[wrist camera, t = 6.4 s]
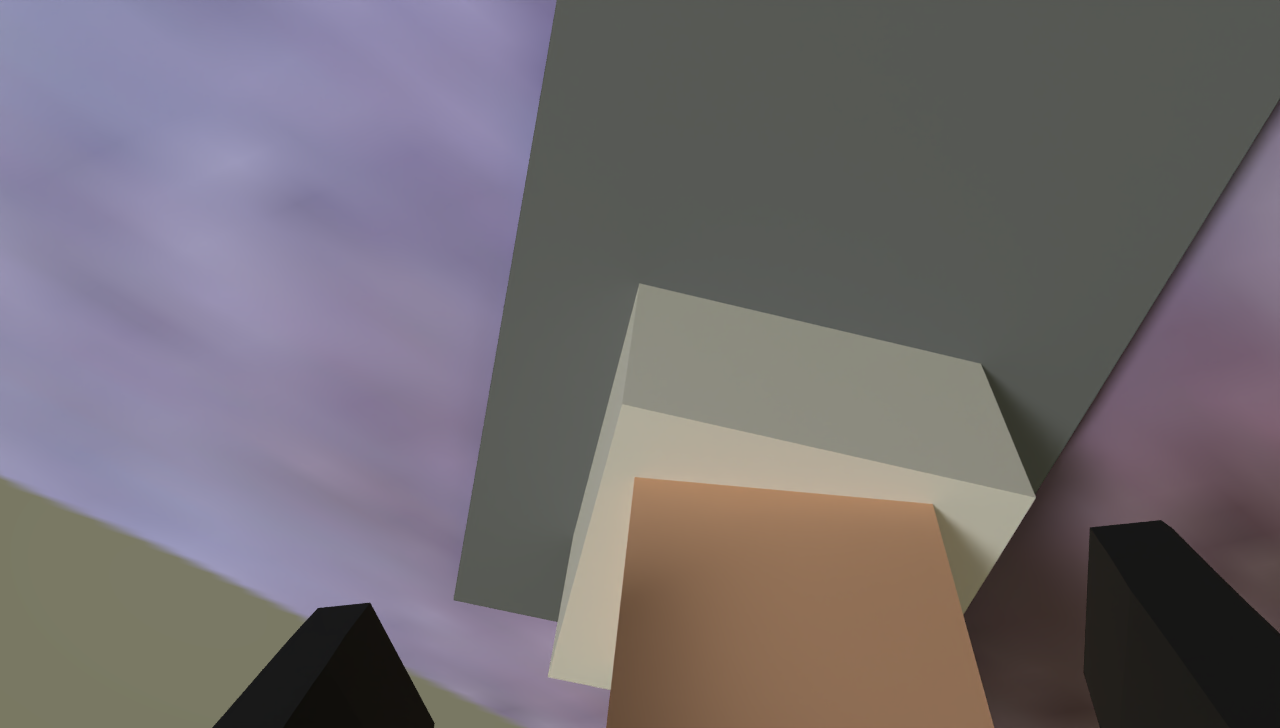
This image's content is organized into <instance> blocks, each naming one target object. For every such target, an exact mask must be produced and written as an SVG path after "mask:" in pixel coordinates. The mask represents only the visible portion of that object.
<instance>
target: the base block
mask: <svg viewBox="0 0 1280 728" xmlns="http://www.w3.org/2000/svg"><path fill="white" fill-rule="evenodd" d="M635 477H640V478H651V479H662V480H673V481H684V482H695V483H706V484H717V485H728V486H739V487H750V488H762V489H773V490H784V491H795V492H806V493H817V494H828V495H839V496H850V497H861V498H872V499H883V500H894V501H905V502H916V503H927V504H933V507H934V510H935V514H936V518H937V521H938V525H939V529H940V532H941V536H942V540H943V543H944V547H945V551H946V554H947V558H948V561H949V565H950V569H951V572H952V576H953V580H954V583H955V587H956V591H957V594H958V598H959V602H960V605H961V609H962V612H963V614H964V613H965V611H966V610H967V608H968V606H969V605H970V603H971V602H972V600H973V598H974V597H975V595H976V593H977V592H978V590H979V589H980V587H981V585H982V584H983V582H984V581H985V579H986V577H987V576H988V574H989V573H990V571H991V569H992V568H993V566H994V565H995V563H996V561H997V560H998V558H999V556H1000V555H1001V553H1002V552H1003V550H1004V548H1005V547H1006V545H1007V544H1008V542H1009V540H1010V539H1011V537H1012V536H1013V534H1014V532H1015V531H1016V529H1017V528H1018V526H1019V524H1020V523H1021V521H1022V519H1023V518H1024V516H1025V515H1026V513H1027V511H1028V510H1029V508H1030V507H1031V505H1032V503H1033V502H1034V500H1035V499H1036V497H1035V494H1034V492H1033V489H1032V487H1031V484H1030V482H1029V480H1028V477H1027V475H1026V472H1025V470H1024V467H1023V465H1022V462H1021V460H1020V458H1019V455H1018V453H1017V450H1016V448H1015V445H1014V443H1013V441H1012V438H1011V436H1010V433H1009V431H1008V428H1007V426H1006V424H1005V421H1004V419H1003V416H1002V414H1001V411H1000V409H999V406H998V404H997V402H996V399H995V397H994V394H993V392H992V389H991V387H990V385H989V382H988V380H987V377H986V375H985V372H984V370H983V368H982V365H981V364H980V363H976V362H972V361H967V360H963V359H959V358H955V357H950V356H946V355H942V354H938V353H933V352H929V351H925V350H921V349H916V348H912V347H908V346H904V345H899V344H895V343H891V342H887V341H882V340H878V339H874V338H870V337H865V336H861V335H857V334H853V333H848V332H844V331H840V330H836V329H831V328H827V327H823V326H819V325H814V324H810V323H806V322H802V321H797V320H793V319H789V318H785V317H780V316H776V315H772V314H768V313H763V312H759V311H755V310H751V309H746V308H742V307H738V306H734V305H729V304H725V303H721V302H717V301H712V300H708V299H704V298H700V297H695V296H691V295H687V294H683V293H678V292H674V291H670V290H666V289H661V288H657V287H653V286H649V285H644V284H640V283H639V287H638V291H637V295H636V298H635V302H634V306H633V310H632V314H631V318H630V321H629V325H628V329H627V333H626V337H625V340H624V344H623V348H622V352H621V356H620V360H619V363H618V367H617V371H616V375H615V379H614V382H613V386H612V390H611V394H610V398H609V402H608V405H607V409H606V413H605V417H604V421H603V424H602V428H601V432H600V436H599V440H598V444H597V447H596V451H595V455H594V459H593V463H592V466H591V470H590V474H589V478H588V482H587V486H586V489H585V493H584V497H583V501H582V505H581V509H580V512H579V516H578V520H577V524H576V528H575V531H574V535H573V540H572V546H571V551H570V557H569V562H568V568H567V573H566V579H565V584H564V590H563V595H562V601H561V607H560V612H559V618H558V623H557V629H556V634H555V640H554V645H553V651H552V656H551V662H550V667H549V673H548V677H550V678H555V679H560V680H565V681H570V682H574V683H579V684H584V685H589V686H594V687H599V688H604V689H609V690H611V682H612V673H613V664H614V655H615V647H616V638H617V629H618V620H619V611H620V602H621V593H622V585H623V576H624V567H625V558H626V549H627V540H628V531H629V523H630V514H631V505H632V496H633V487H634V478H635Z"/></svg>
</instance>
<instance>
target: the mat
mask: <svg viewBox="0 0 1280 728" xmlns="http://www.w3.org/2000/svg"><path fill="white" fill-rule="evenodd" d="M1279 99H1280V0H557V3H556V8H555V14H554V20H553V26H552V32H551V37H550V43H549V49H548V55H547V61H546V66H545V72H544V78H543V84H542V90H541V95H540V101H539V107H538V113H537V119H536V124H535V130H534V136H533V142H532V148H531V153H530V159H529V165H528V171H527V177H526V182H525V188H524V194H523V200H522V206H521V211H520V217H519V223H518V229H517V235H516V240H515V246H514V252H513V258H512V264H511V269H510V275H509V281H508V287H507V293H506V298H505V304H504V310H503V316H502V322H501V327H500V333H499V339H498V345H497V351H496V356H495V362H494V368H493V374H492V380H491V386H490V391H489V397H488V403H487V409H486V415H485V420H484V426H483V432H482V438H481V444H480V449H479V455H478V461H477V467H476V473H475V478H474V484H473V490H472V496H471V502H470V507H469V513H468V519H467V525H466V531H465V536H464V542H463V548H462V554H461V560H460V565H459V571H458V577H457V583H456V589H455V594H454V600H455V601H460V602H465V603H470V604H475V605H479V606H484V607H489V608H494V609H498V610H503V611H508V612H513V613H518V614H522V615H527V616H532V617H537V618H541V619H546V620H551V621H556V622H558V618H559V612H560V607H561V601H562V595H563V590H564V584H565V579H566V573H567V568H568V562H569V557H570V551H571V546H572V540H573V535H574V531H575V528H576V524H577V520H578V516H579V512H580V509H581V505H582V501H583V497H584V493H585V489H586V486H587V482H588V478H589V474H590V470H591V466H592V463H593V459H594V455H595V451H596V447H597V444H598V440H599V436H600V432H601V428H602V424H603V421H604V417H605V413H606V409H607V405H608V402H609V398H610V394H611V390H612V386H613V382H614V379H615V375H616V371H617V367H618V363H619V360H620V356H621V352H622V348H623V344H624V340H625V337H626V333H627V329H628V325H629V321H630V318H631V314H632V310H633V306H634V302H635V298H636V295H637V291H638V287H639V283H640V284H644V285H649V286H653V287H657V288H661V289H666V290H670V291H674V292H678V293H683V294H687V295H691V296H695V297H700V298H704V299H708V300H712V301H717V302H721V303H725V304H729V305H734V306H738V307H742V308H746V309H751V310H755V311H759V312H763V313H768V314H772V315H776V316H780V317H785V318H789V319H793V320H797V321H802V322H806V323H810V324H814V325H819V326H823V327H827V328H831V329H836V330H840V331H844V332H848V333H853V334H857V335H861V336H865V337H870V338H874V339H878V340H882V341H887V342H891V343H895V344H899V345H904V346H908V347H912V348H916V349H921V350H925V351H929V352H933V353H938V354H942V355H946V356H950V357H955V358H959V359H963V360H967V361H972V362H976V363H980V364H981V365H982V368H983V370H984V372H985V375H986V377H987V380H988V382H989V385H990V387H991V389H992V392H993V394H994V397H995V399H996V402H997V404H998V406H999V409H1000V411H1001V414H1002V416H1003V419H1004V421H1005V424H1006V426H1007V428H1008V431H1009V433H1010V436H1011V438H1012V441H1013V443H1014V445H1015V448H1016V450H1017V453H1018V455H1019V458H1020V460H1021V462H1022V465H1023V467H1024V470H1025V472H1026V475H1027V477H1028V480H1029V482H1030V484H1031V487H1032V489H1033V492H1034V494H1036V492H1037V490H1038V489H1039V487H1040V486H1041V484H1042V482H1043V481H1044V479H1045V478H1046V476H1047V474H1048V473H1049V471H1050V469H1051V468H1052V466H1053V465H1054V463H1055V461H1056V460H1057V458H1058V456H1059V455H1060V453H1061V452H1062V450H1063V448H1064V447H1065V445H1066V444H1067V442H1068V440H1069V439H1070V437H1071V435H1072V434H1073V432H1074V431H1075V429H1076V427H1077V426H1078V424H1079V423H1080V421H1081V419H1082V418H1083V416H1084V414H1085V413H1086V411H1087V410H1088V408H1089V406H1090V405H1091V403H1092V402H1093V400H1094V398H1095V397H1096V395H1097V393H1098V392H1099V390H1100V389H1101V387H1102V385H1103V384H1104V382H1105V380H1106V379H1107V377H1108V376H1109V374H1110V372H1111V371H1112V369H1113V368H1114V366H1115V364H1116V363H1117V361H1118V359H1119V358H1120V356H1121V355H1122V353H1123V351H1124V350H1125V348H1126V347H1127V345H1128V343H1129V342H1130V340H1131V338H1132V337H1133V335H1134V334H1135V332H1136V330H1137V329H1138V327H1139V326H1140V324H1141V322H1142V321H1143V319H1144V317H1145V316H1146V314H1147V313H1148V311H1149V309H1150V308H1151V306H1152V304H1153V303H1154V301H1155V300H1156V298H1157V296H1158V295H1159V293H1160V292H1161V290H1162V288H1163V287H1164V285H1165V283H1166V282H1167V280H1168V279H1169V277H1170V275H1171V274H1172V272H1173V271H1174V269H1175V267H1176V266H1177V264H1178V262H1179V261H1180V259H1181V258H1182V256H1183V254H1184V253H1185V251H1186V250H1187V248H1188V246H1189V245H1190V243H1191V241H1192V240H1193V238H1194V237H1195V235H1196V233H1197V232H1198V230H1199V228H1200V227H1201V225H1202V224H1203V222H1204V220H1205V219H1206V217H1207V216H1208V214H1209V212H1210V211H1211V209H1212V207H1213V206H1214V204H1215V203H1216V201H1217V199H1218V198H1219V196H1220V195H1221V193H1222V191H1223V190H1224V188H1225V186H1226V185H1227V183H1228V182H1229V180H1230V178H1231V177H1232V175H1233V174H1234V172H1235V170H1236V169H1237V167H1238V165H1239V164H1240V162H1241V161H1242V159H1243V157H1244V156H1245V154H1246V153H1247V151H1248V149H1249V148H1250V146H1251V144H1252V143H1253V141H1254V140H1255V138H1256V136H1257V135H1258V133H1259V131H1260V130H1261V128H1262V127H1263V125H1264V123H1265V122H1266V120H1267V119H1268V117H1269V115H1270V114H1271V112H1272V110H1273V109H1274V107H1275V106H1276V104H1277V102H1278V101H1279Z"/></svg>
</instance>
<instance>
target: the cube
mask: <svg viewBox="0 0 1280 728" xmlns="http://www.w3.org/2000/svg"><path fill="white" fill-rule="evenodd" d="M606 728H994V725H993V722H992V718H991V714H990V711H989V707H988V703H987V700H986V696H985V693H984V689H983V685H982V682H981V678H980V674H979V671H978V667H977V663H976V660H975V656H974V653H973V649H972V645H971V642H970V638H969V634H968V631H967V627H966V623H965V620H964V616H963V612H962V609H961V605H960V602H959V598H958V594H957V591H956V587H955V583H954V580H953V576H952V572H951V569H950V565H949V561H948V558H947V554H946V551H945V547H944V543H943V540H942V536H941V532H940V529H939V525H938V521H937V518H936V514H935V510H934V507H933V504H927V503H916V502H905V501H894V500H883V499H872V498H861V497H850V496H839V495H828V494H817V493H806V492H795V491H784V490H773V489H762V488H750V487H739V486H728V485H717V484H706V483H695V482H684V481H673V480H662V479H651V478H640V477H635V478H634V487H633V496H632V505H631V514H630V523H629V531H628V540H627V549H626V558H625V567H624V576H623V585H622V593H621V602H620V611H619V620H618V629H617V638H616V647H615V655H614V664H613V673H612V682H611V691H610V700H609V709H608V717H607V726H606Z"/></svg>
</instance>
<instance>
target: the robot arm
mask: <svg viewBox="0 0 1280 728" xmlns="http://www.w3.org/2000/svg"><path fill="white" fill-rule="evenodd" d="M1084 675H1085V679H1086V682H1087V685H1088V689H1089V692H1090V695H1091V699H1092V702H1093V706H1094V709H1095V712H1096V716H1097V719H1098V723H1099V726H1100V728H1280V633H1279V632H1278V631H1277V630H1275V629H1274V628H1273V627H1272V626H1271V625H1270V624H1269V623H1268V622H1267V621H1266V620H1265V619H1264V618H1263V617H1262V616H1261V615H1260V614H1259V613H1258V612H1257V611H1255V610H1254V609H1253V608H1252V607H1251V606H1250V605H1249V604H1248V603H1247V602H1246V601H1245V600H1244V599H1243V598H1242V597H1241V596H1240V595H1239V594H1238V593H1237V592H1236V591H1235V590H1234V589H1233V588H1232V587H1231V586H1230V585H1229V584H1228V583H1227V582H1226V581H1225V580H1223V579H1222V578H1221V577H1220V576H1219V575H1218V574H1217V573H1216V572H1215V571H1214V570H1213V569H1212V568H1211V567H1210V566H1209V565H1208V564H1207V563H1206V562H1205V561H1204V560H1203V559H1202V558H1201V557H1200V556H1199V555H1198V554H1197V553H1196V552H1195V551H1194V550H1193V549H1192V548H1191V547H1190V546H1189V545H1188V544H1187V543H1186V542H1185V541H1184V540H1183V539H1182V538H1181V537H1180V536H1179V535H1178V534H1177V533H1176V532H1175V530H1174V529H1172V528H1171V527H1170V526H1168V525H1167V524H1165V523H1164V522H1163V521H1161V520H1158V521H1148V522H1139V523H1129V524H1120V525H1110V526H1101V527H1091V528H1090V538H1089V561H1088V583H1087V606H1086V629H1085V652H1084ZM213 728H434V721H433V720H432V718H431V716H430V714H429V712H428V711H427V708H426V707H425V705H424V703H423V701H422V699H421V697H420V695H419V693H418V691H417V690H416V688H415V686H414V684H413V682H412V680H411V678H410V676H409V675H408V673H407V671H406V669H405V667H404V665H403V663H402V661H401V660H400V658H399V656H398V654H397V652H396V650H395V648H394V646H393V645H392V643H391V641H390V639H389V637H388V635H387V633H386V631H385V630H384V628H383V626H382V624H381V622H380V620H379V618H378V617H377V615H376V613H375V611H374V609H373V607H372V605H371V603H363V604H353V605H343V606H334V607H324V608H318V609H317V610H316V611H315V612H314V613H313V614H312V615H311V616H310V617H309V618H308V619H307V620H306V622H305V623H304V624H303V625H302V626H301V627H300V628H299V629H298V630H297V632H296V633H295V634H294V635H293V636H292V637H291V638H290V639H289V640H288V641H287V643H286V644H285V645H284V646H283V647H282V648H281V649H280V651H279V652H278V653H277V654H276V655H275V656H274V658H273V659H272V660H271V661H270V662H269V663H268V664H267V666H266V667H265V668H264V669H263V670H262V671H261V672H260V673H259V675H258V676H257V677H256V678H255V679H254V680H253V682H252V683H251V684H250V685H249V686H248V687H247V689H246V690H245V691H244V692H243V693H242V695H241V696H240V697H239V698H238V699H237V700H236V701H235V702H234V704H233V705H232V706H231V707H230V708H229V709H228V710H227V712H226V713H225V714H224V715H223V716H222V717H221V719H220V720H219V721H218V722H217V723H216V724H215V725H214V726H213Z"/></svg>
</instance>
